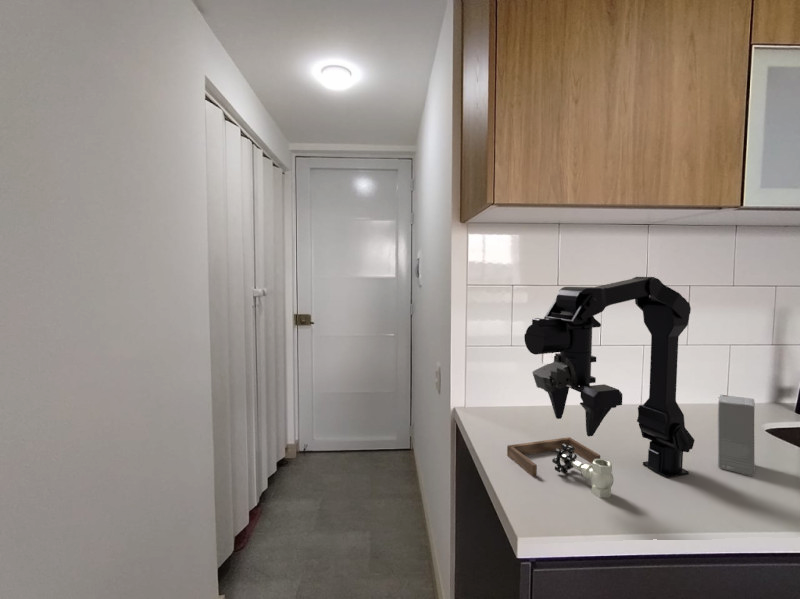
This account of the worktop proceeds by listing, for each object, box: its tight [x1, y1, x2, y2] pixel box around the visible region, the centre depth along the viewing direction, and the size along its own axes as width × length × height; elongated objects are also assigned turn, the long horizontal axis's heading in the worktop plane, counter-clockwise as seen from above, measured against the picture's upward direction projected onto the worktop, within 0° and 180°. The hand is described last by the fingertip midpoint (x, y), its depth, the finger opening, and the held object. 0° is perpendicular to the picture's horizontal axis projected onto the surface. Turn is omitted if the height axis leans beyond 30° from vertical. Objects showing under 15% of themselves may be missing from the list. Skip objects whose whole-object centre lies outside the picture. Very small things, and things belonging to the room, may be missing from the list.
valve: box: [551, 444, 614, 499], centre depth 84 cm, size 7×7×12 cm
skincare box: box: [717, 394, 756, 478], centre depth 92 cm, size 8×7×16 cm
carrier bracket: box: [506, 436, 601, 477], centre depth 95 cm, size 18×10×2 cm, turn 106°
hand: (573, 426), depth 80 cm, fingers open, 9 cm apart
